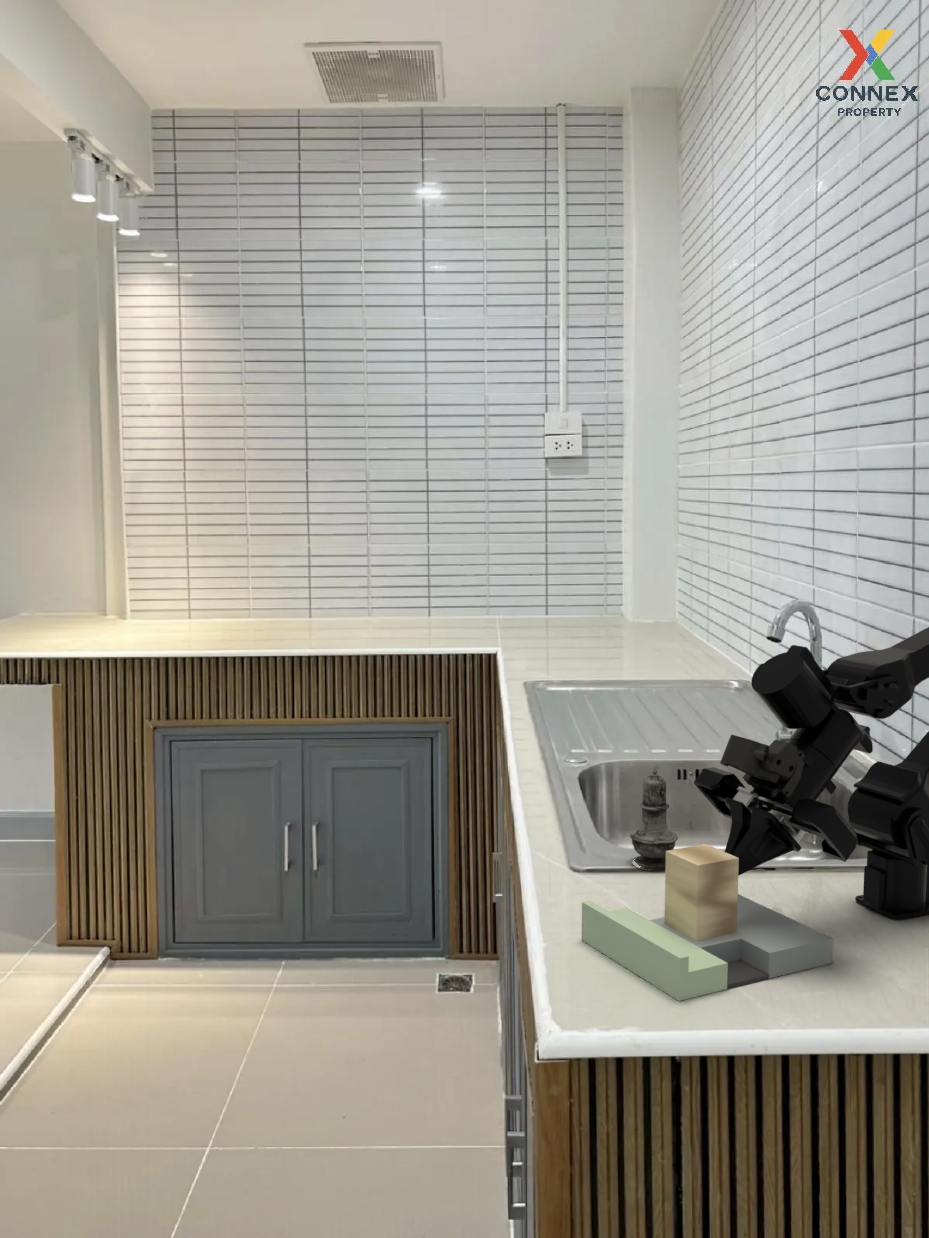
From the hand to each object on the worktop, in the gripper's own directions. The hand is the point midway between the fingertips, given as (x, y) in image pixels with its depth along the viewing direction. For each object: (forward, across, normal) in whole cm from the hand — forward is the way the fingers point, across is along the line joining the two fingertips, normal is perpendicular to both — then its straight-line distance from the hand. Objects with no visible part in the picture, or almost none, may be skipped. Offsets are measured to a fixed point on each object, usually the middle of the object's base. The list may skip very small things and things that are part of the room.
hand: (723, 876), depth 116 cm
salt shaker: (-2, -24, +12) cm, 27 cm away
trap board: (+7, 0, +4) cm, 8 cm away
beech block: (+5, 0, +2) cm, 6 cm away
